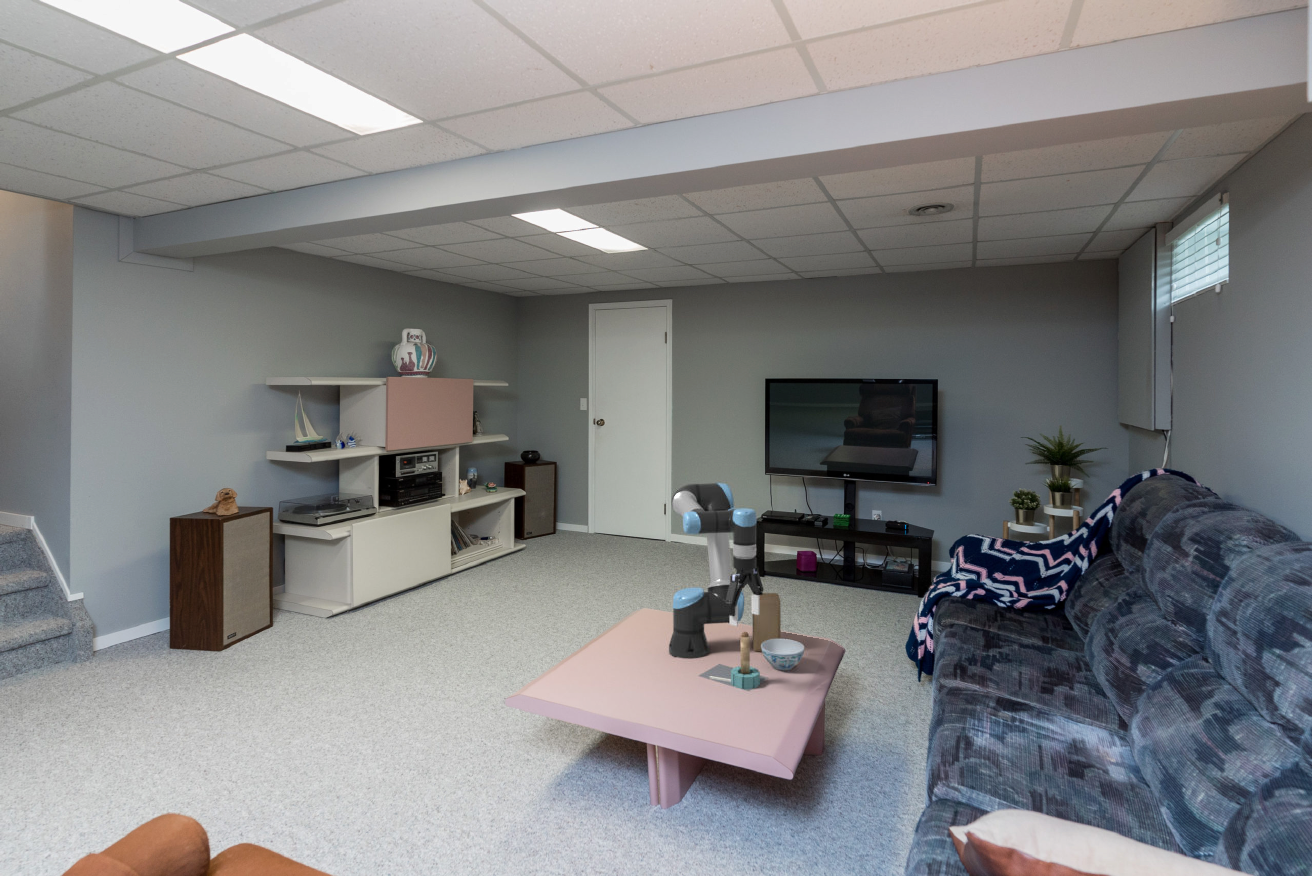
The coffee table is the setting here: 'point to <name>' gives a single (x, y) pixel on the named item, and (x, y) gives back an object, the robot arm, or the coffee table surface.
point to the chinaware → (782, 653)
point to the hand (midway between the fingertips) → (744, 619)
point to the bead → (745, 678)
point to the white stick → (720, 678)
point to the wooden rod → (745, 653)
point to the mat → (724, 674)
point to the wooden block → (767, 620)
